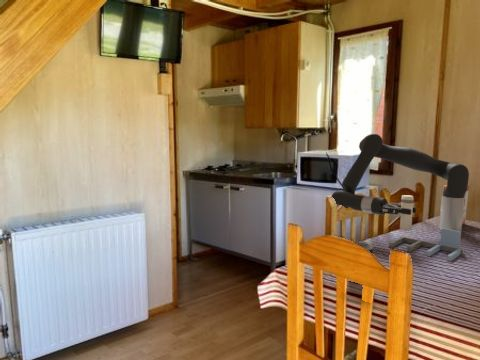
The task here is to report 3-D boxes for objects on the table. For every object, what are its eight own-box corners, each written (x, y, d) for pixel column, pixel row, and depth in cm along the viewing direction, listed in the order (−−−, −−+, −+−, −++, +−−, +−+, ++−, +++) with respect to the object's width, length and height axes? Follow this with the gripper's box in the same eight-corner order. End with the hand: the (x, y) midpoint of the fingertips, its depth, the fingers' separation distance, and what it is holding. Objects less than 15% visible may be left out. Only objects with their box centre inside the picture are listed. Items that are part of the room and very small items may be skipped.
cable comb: (400, 240, 173) (402, 220, 172) (463, 253, 156) (465, 232, 154) (387, 246, 164) (388, 225, 163) (452, 261, 146) (454, 238, 145)
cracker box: (449, 227, 197) (452, 186, 194) (438, 224, 202) (441, 185, 199) (466, 224, 203) (469, 185, 200) (455, 221, 209) (458, 183, 206)
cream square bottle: (397, 227, 164) (398, 195, 162) (407, 227, 165) (409, 194, 163) (403, 230, 159) (405, 197, 157) (414, 230, 160) (416, 197, 158)
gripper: (366, 199, 166) (406, 204, 154) (381, 194, 176) (420, 199, 164) (366, 216, 167) (405, 223, 155) (381, 211, 177) (419, 217, 165)
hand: (413, 211), depth 159 cm, fingers closed on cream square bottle, 4 cm apart
